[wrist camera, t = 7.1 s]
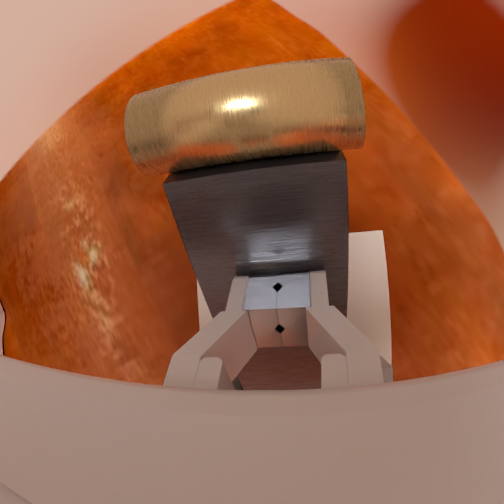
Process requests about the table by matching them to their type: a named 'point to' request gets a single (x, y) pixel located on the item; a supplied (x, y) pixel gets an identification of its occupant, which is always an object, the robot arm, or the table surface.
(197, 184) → the lever
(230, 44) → the table surface
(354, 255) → the white rectangular block
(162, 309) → the table surface
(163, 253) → the table surface
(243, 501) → the robot arm
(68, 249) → the table surface
